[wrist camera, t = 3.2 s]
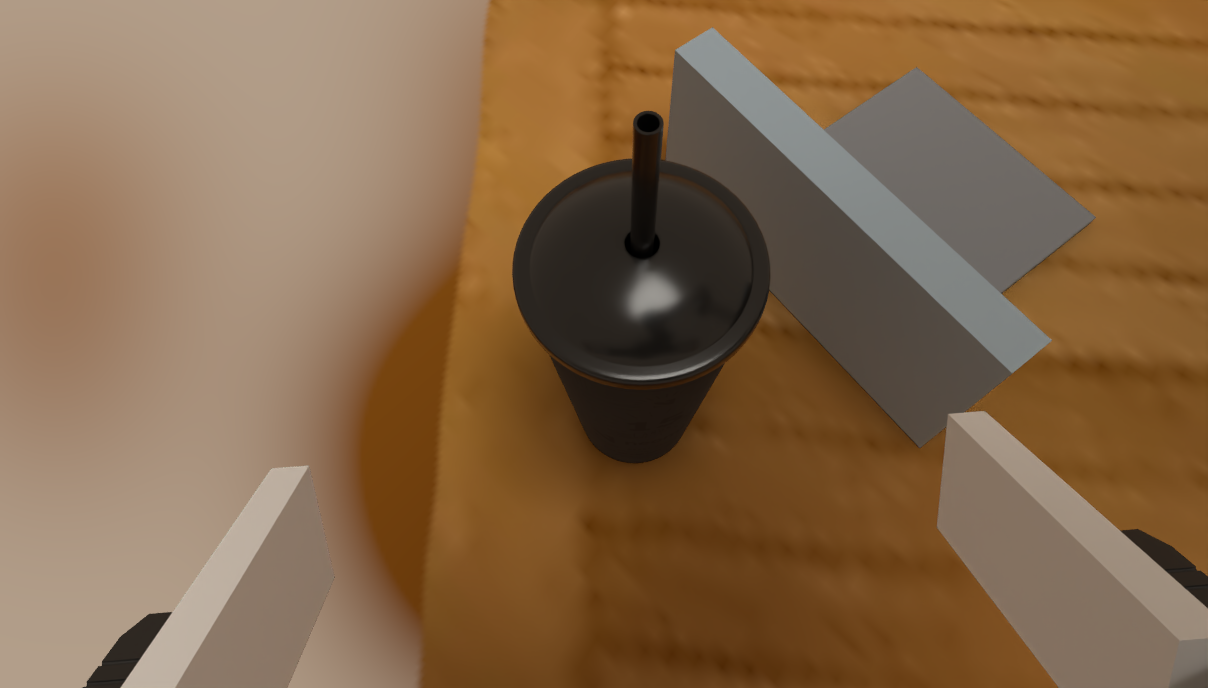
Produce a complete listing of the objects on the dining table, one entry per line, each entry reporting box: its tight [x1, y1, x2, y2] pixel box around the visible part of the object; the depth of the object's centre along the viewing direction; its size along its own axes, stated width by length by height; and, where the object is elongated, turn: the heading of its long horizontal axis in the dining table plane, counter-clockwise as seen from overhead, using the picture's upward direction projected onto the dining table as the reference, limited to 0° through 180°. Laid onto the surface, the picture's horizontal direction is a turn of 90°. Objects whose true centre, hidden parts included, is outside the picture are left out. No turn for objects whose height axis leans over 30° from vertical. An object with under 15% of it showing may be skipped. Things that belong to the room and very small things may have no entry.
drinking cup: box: [512, 111, 771, 463], centre depth 27 cm, size 8×8×20 cm
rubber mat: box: [824, 67, 1096, 294], centre depth 40 cm, size 12×12×1 cm
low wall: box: [666, 27, 1052, 448], centre depth 34 cm, size 2×18×9 cm, turn 37°
